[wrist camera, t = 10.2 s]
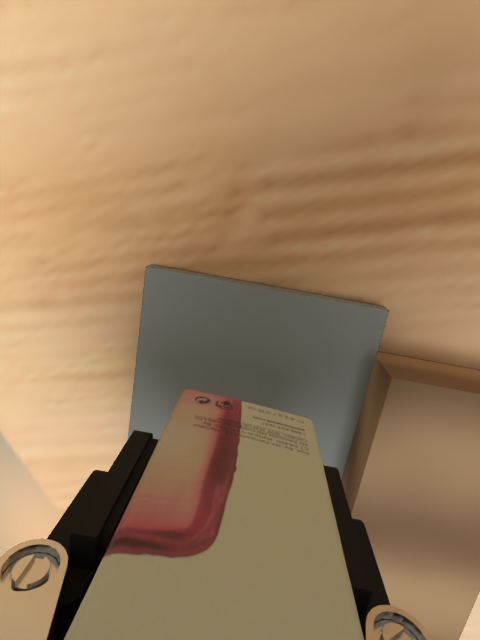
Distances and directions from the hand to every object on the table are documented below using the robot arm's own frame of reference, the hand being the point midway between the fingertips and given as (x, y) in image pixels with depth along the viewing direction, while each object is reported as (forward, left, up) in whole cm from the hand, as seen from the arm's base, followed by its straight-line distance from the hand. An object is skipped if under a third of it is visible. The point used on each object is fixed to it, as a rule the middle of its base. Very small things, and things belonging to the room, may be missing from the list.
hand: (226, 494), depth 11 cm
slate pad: (0, 0, -7) cm, 7 cm away
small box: (0, 0, -2) cm, 2 cm away
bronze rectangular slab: (+3, +8, -7) cm, 11 cm away
